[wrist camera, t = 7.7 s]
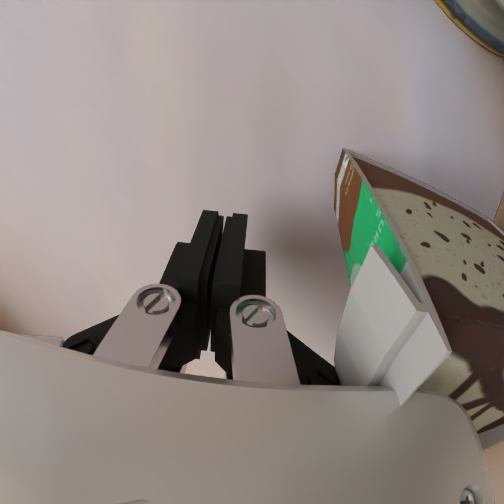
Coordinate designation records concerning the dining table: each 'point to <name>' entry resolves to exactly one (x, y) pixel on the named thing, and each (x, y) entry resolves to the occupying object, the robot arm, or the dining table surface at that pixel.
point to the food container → (420, 292)
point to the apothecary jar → (478, 20)
